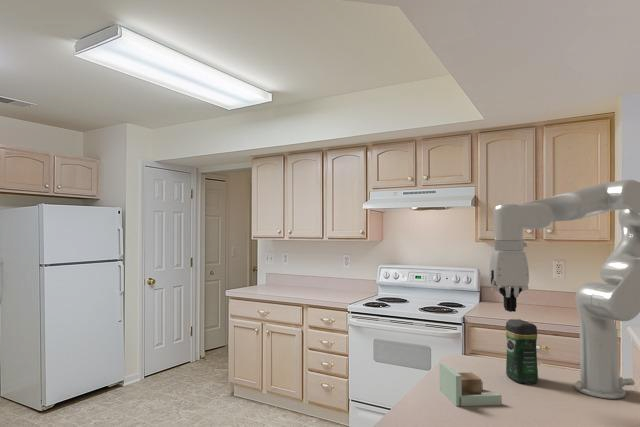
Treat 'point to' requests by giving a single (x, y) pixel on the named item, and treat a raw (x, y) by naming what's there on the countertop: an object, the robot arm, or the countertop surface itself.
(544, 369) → the countertop surface
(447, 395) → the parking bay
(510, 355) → the coffee jar
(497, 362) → the countertop surface
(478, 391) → the walnut block
